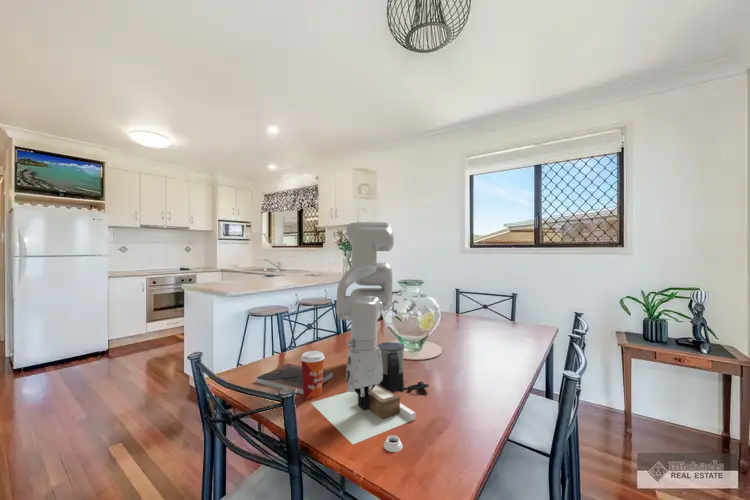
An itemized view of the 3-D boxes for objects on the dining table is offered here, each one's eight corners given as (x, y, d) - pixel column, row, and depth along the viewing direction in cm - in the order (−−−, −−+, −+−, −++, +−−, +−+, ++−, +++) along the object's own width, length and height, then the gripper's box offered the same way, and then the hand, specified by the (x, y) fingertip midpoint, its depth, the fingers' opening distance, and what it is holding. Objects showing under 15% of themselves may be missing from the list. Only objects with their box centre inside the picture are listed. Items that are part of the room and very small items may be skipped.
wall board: (365, 390, 107) (365, 374, 107) (415, 423, 87) (415, 404, 87) (310, 406, 96) (310, 389, 96) (352, 449, 75) (352, 427, 75)
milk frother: (373, 385, 111) (373, 343, 111) (412, 378, 117) (412, 338, 117) (390, 403, 98) (390, 355, 98) (433, 394, 104) (434, 349, 104)
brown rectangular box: (359, 402, 96) (359, 386, 96) (375, 397, 100) (375, 382, 100) (382, 419, 86) (382, 402, 86) (399, 413, 90) (399, 396, 90)
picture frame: (256, 384, 113) (304, 396, 104) (256, 377, 113) (305, 389, 104) (287, 368, 128) (332, 378, 119) (287, 362, 128) (332, 371, 119)
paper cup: (313, 405, 97) (313, 359, 97) (295, 399, 101) (295, 355, 101) (329, 395, 103) (329, 352, 103) (312, 389, 107) (312, 348, 107)
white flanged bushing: (386, 443, 78) (379, 455, 73) (386, 431, 78) (379, 442, 73) (406, 447, 76) (400, 460, 72) (406, 435, 76) (400, 447, 72)
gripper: (347, 351, 83) (347, 421, 83) (392, 342, 91) (392, 406, 91) (334, 344, 89) (334, 410, 89) (378, 336, 97) (377, 396, 97)
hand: (363, 408), depth 90 cm, fingers closed
